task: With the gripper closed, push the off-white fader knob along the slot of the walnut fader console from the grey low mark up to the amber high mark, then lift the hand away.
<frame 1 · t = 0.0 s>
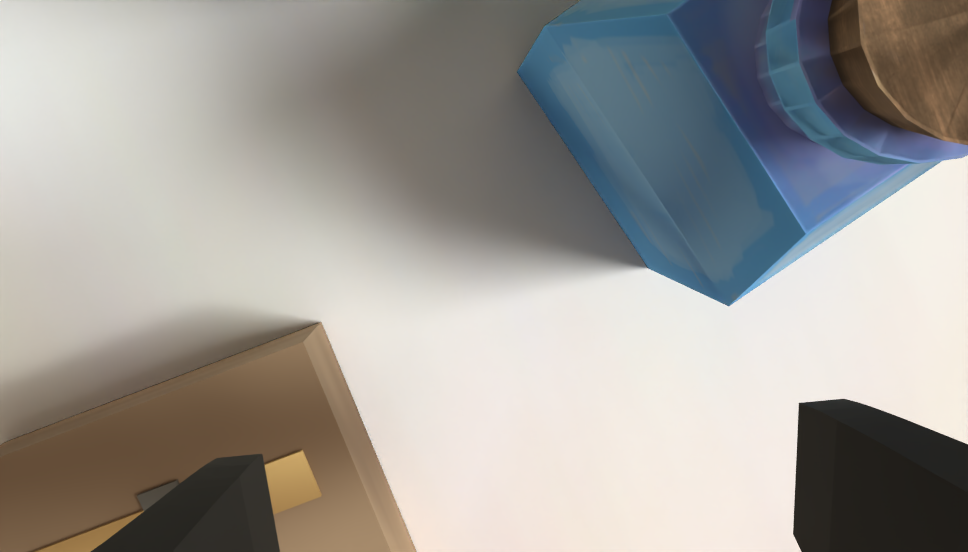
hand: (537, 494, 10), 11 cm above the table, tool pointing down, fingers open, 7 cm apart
perfume bottle: (680, 104, 21), on the table
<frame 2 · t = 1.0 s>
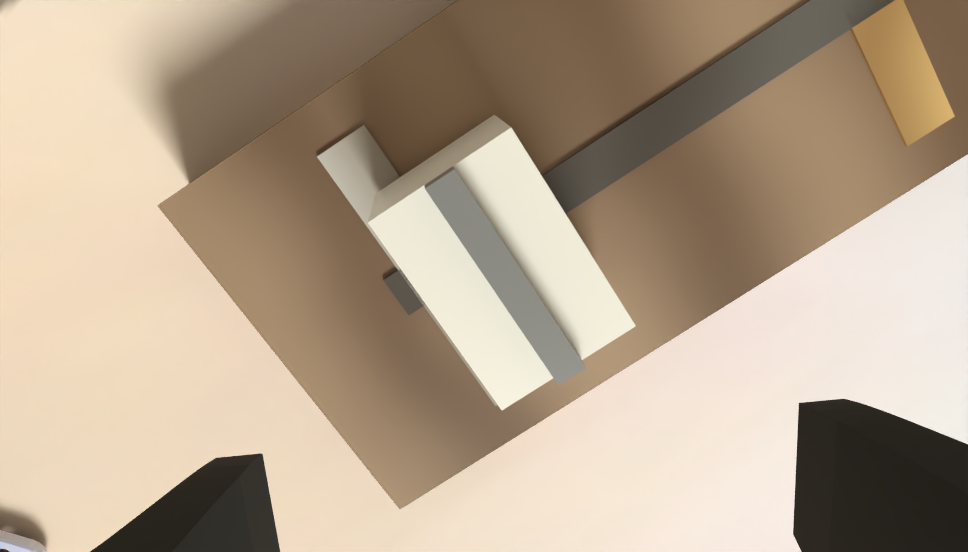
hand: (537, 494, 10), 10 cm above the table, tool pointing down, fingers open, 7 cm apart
fader console: (615, 125, 19), on the table
fader knob: (498, 258, 15), point 5 cm above the table, slide at -4.0 cm
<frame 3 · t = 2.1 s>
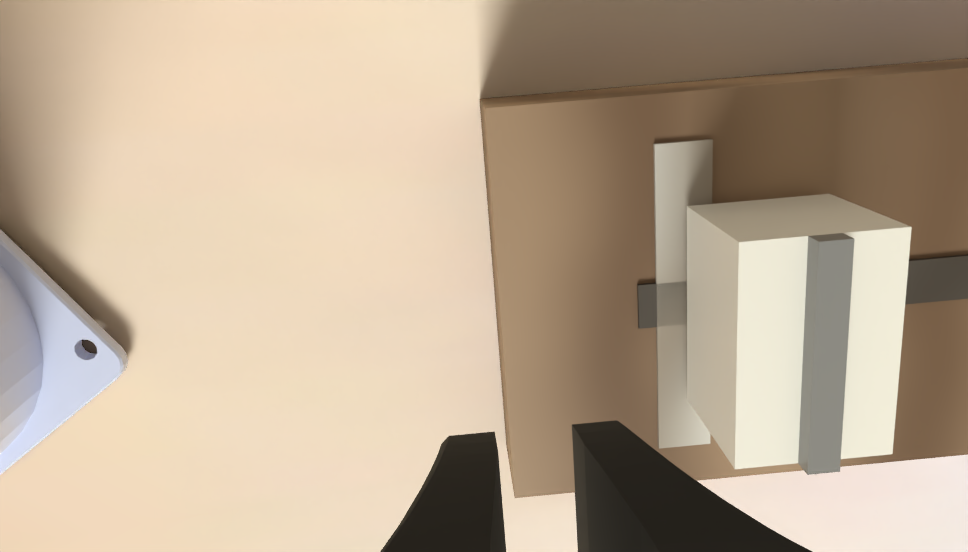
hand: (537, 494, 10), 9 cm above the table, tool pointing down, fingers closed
fader console: (870, 250, 20), on the table
fader knob: (788, 327, 15), point 4 cm above the table, slide at -4.0 cm
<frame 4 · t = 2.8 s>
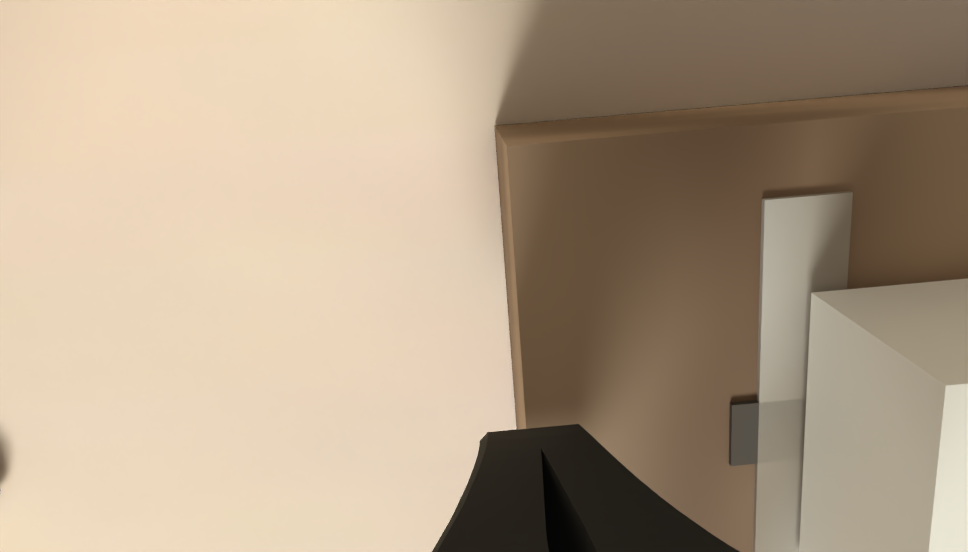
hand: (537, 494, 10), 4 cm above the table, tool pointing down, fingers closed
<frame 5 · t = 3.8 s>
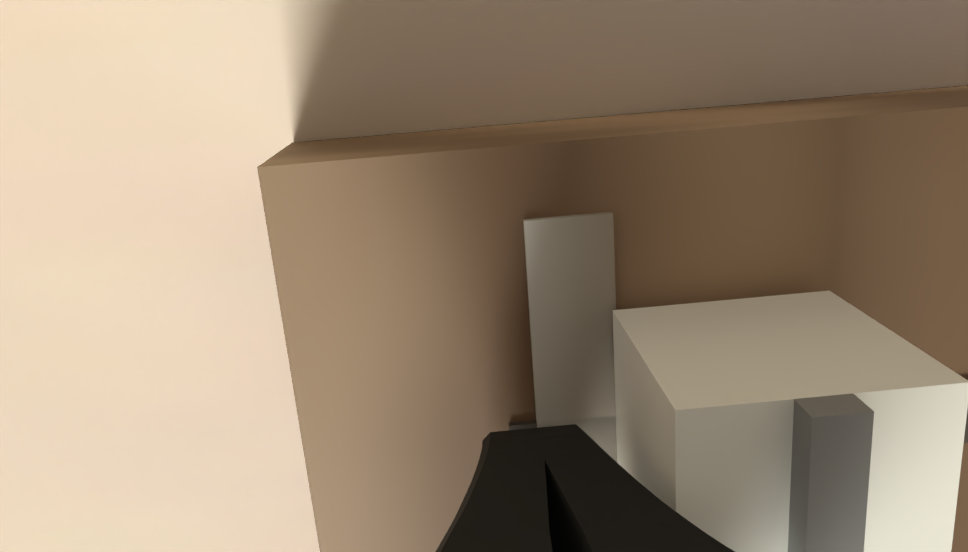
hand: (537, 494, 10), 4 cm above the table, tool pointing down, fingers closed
fader console: (858, 348, 14), on the table
fader knob: (766, 511, 10), point 5 cm above the table, slide at -3.5 cm, touching gripper
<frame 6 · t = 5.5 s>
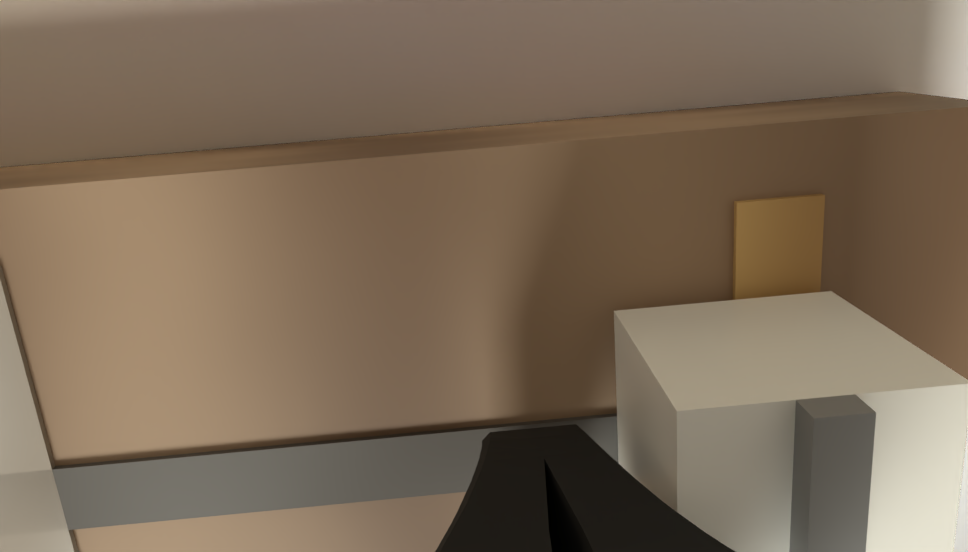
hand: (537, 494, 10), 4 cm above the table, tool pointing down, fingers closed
fader console: (407, 391, 14), on the table
fader knob: (767, 512, 10), point 4 cm above the table, slide at 4.7 cm, touching gripper
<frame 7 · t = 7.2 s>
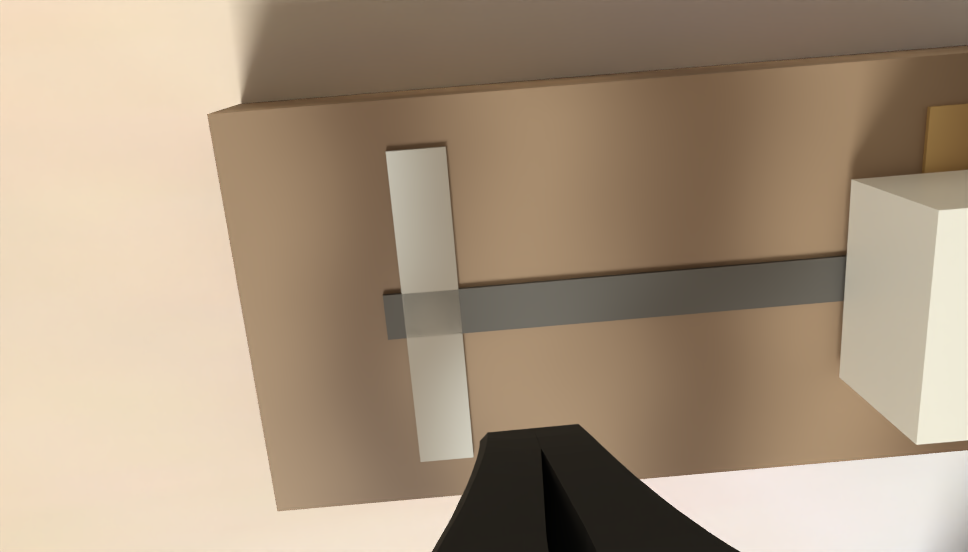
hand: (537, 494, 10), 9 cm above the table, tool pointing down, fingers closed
fader console: (658, 259, 19), on the table
fader knob: (965, 301, 15), point 4 cm above the table, slide at 4.8 cm
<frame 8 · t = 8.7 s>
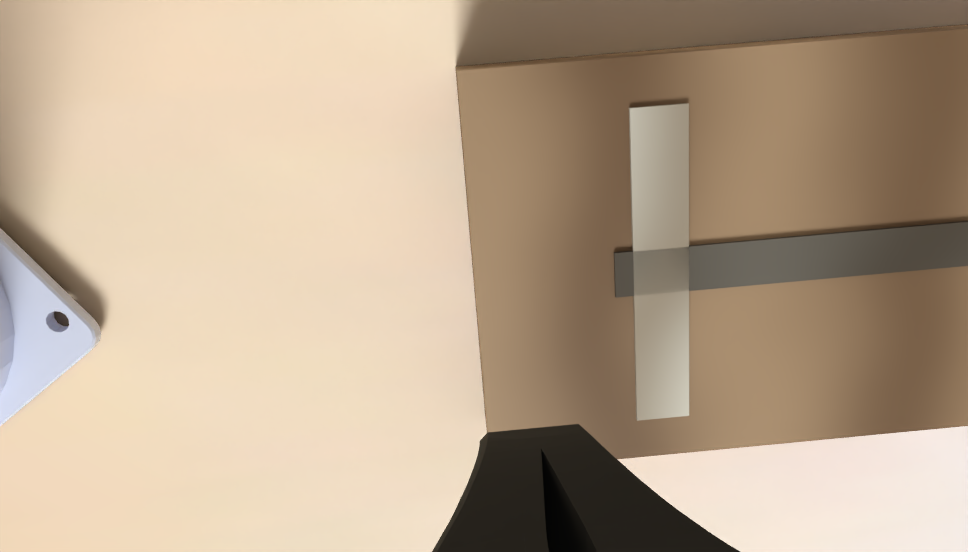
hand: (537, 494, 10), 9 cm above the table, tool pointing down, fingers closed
fader console: (852, 222, 19), on the table
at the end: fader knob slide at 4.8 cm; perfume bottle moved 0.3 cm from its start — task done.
